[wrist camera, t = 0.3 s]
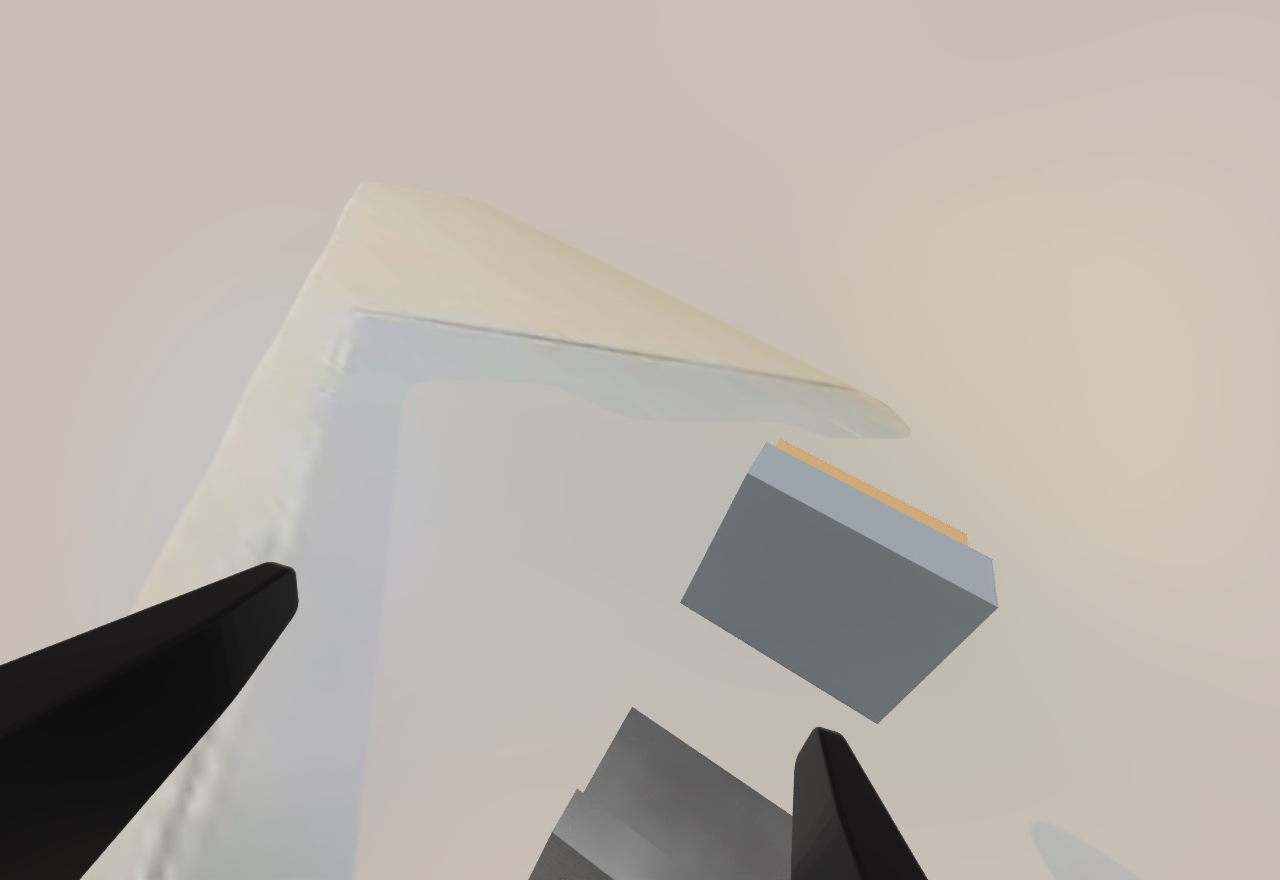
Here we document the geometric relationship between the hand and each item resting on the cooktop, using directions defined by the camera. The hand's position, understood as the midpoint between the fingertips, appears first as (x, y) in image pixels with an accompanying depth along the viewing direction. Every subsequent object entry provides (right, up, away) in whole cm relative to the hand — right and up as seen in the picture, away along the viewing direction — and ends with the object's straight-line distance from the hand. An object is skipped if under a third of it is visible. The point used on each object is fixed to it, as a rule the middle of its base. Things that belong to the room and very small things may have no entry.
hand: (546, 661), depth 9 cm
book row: (+11, -6, +26) cm, 29 cm away
